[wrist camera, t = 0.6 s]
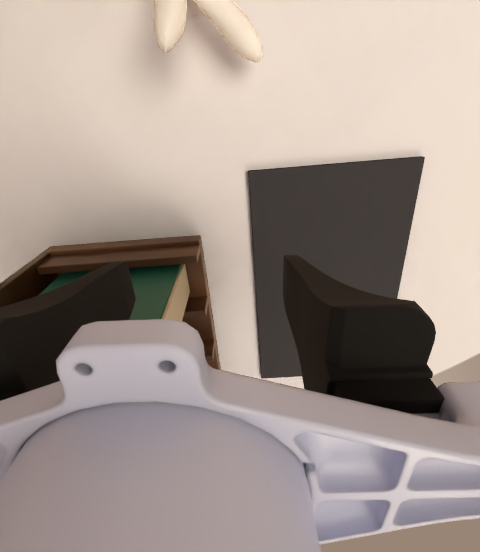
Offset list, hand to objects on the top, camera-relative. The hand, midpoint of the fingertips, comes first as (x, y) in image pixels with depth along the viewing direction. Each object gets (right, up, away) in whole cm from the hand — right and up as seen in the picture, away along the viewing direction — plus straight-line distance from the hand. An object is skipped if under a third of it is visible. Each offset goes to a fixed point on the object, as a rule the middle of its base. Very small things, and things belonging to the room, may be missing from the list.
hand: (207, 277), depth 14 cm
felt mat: (+9, -1, +12) cm, 15 cm away
